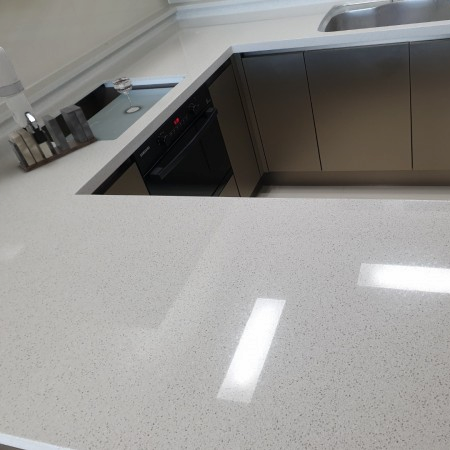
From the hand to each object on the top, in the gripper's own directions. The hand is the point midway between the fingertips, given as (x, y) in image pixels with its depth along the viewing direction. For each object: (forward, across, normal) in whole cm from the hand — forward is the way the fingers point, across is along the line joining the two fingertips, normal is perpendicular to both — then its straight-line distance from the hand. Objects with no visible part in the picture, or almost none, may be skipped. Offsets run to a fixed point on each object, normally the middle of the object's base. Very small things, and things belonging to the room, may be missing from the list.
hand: (38, 139), depth 152 cm
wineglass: (+7, -11, +38) cm, 40 cm away
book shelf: (+7, 0, +4) cm, 8 cm away
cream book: (+6, 0, 0) cm, 6 cm away
